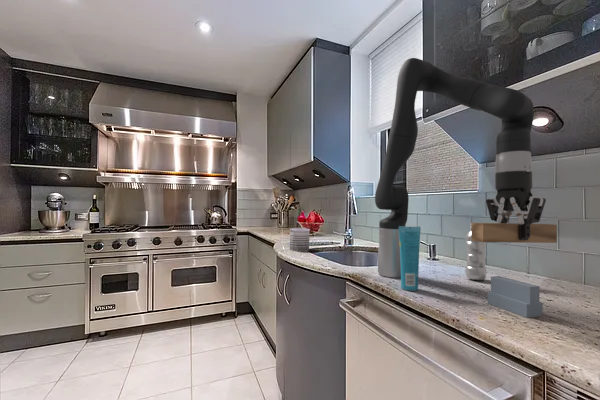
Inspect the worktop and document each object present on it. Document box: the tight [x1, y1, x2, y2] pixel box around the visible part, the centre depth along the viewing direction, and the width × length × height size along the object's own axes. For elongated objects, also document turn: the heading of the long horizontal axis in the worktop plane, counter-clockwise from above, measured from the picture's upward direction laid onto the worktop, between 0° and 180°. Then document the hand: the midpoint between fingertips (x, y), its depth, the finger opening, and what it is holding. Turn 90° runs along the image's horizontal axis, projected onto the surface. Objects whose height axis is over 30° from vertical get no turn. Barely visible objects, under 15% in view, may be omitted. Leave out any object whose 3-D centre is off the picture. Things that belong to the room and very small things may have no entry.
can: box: [289, 227, 311, 252], centre depth 163 cm, size 11×11×12 cm
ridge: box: [487, 275, 544, 318], centre depth 72 cm, size 10×5×7 cm, turn 15°
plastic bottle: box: [464, 222, 487, 281], centre depth 101 cm, size 6×7×20 cm
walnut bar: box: [470, 222, 558, 244], centre depth 72 cm, size 4×20×4 cm, turn 97°
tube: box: [399, 225, 421, 292], centre depth 88 cm, size 7×5×19 cm, turn 107°
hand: (513, 238), depth 72 cm, fingers closed on walnut bar, 4 cm apart
